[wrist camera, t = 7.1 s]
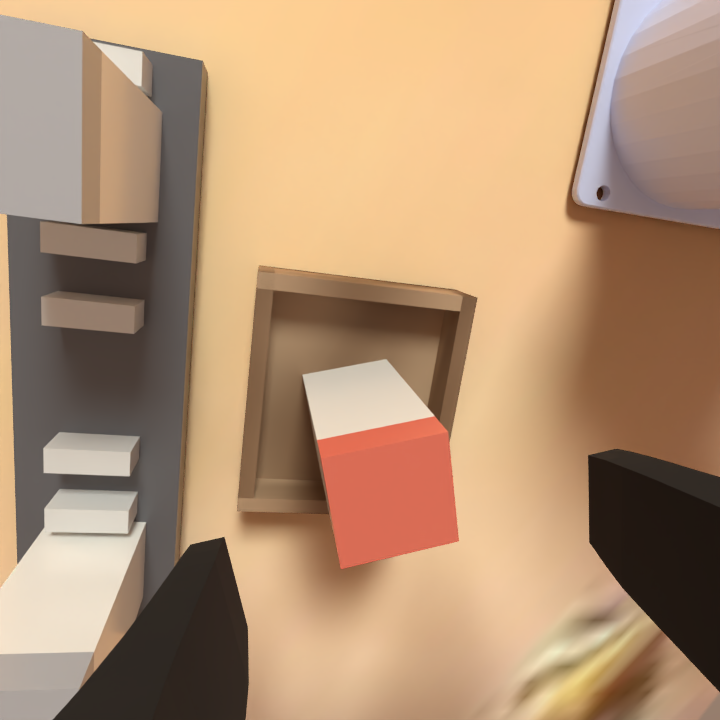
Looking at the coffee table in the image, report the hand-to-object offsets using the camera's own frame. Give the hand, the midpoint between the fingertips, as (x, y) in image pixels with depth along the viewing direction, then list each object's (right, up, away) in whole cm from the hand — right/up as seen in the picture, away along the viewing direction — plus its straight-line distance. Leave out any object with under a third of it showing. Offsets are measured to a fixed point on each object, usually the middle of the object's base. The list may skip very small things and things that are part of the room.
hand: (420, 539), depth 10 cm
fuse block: (-9, +3, +7) cm, 12 cm away
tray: (-2, +2, +9) cm, 9 cm away
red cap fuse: (-2, +2, +8) cm, 9 cm away
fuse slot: (-10, -3, +8) cm, 13 cm away
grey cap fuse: (-8, +9, +5) cm, 13 cm away
